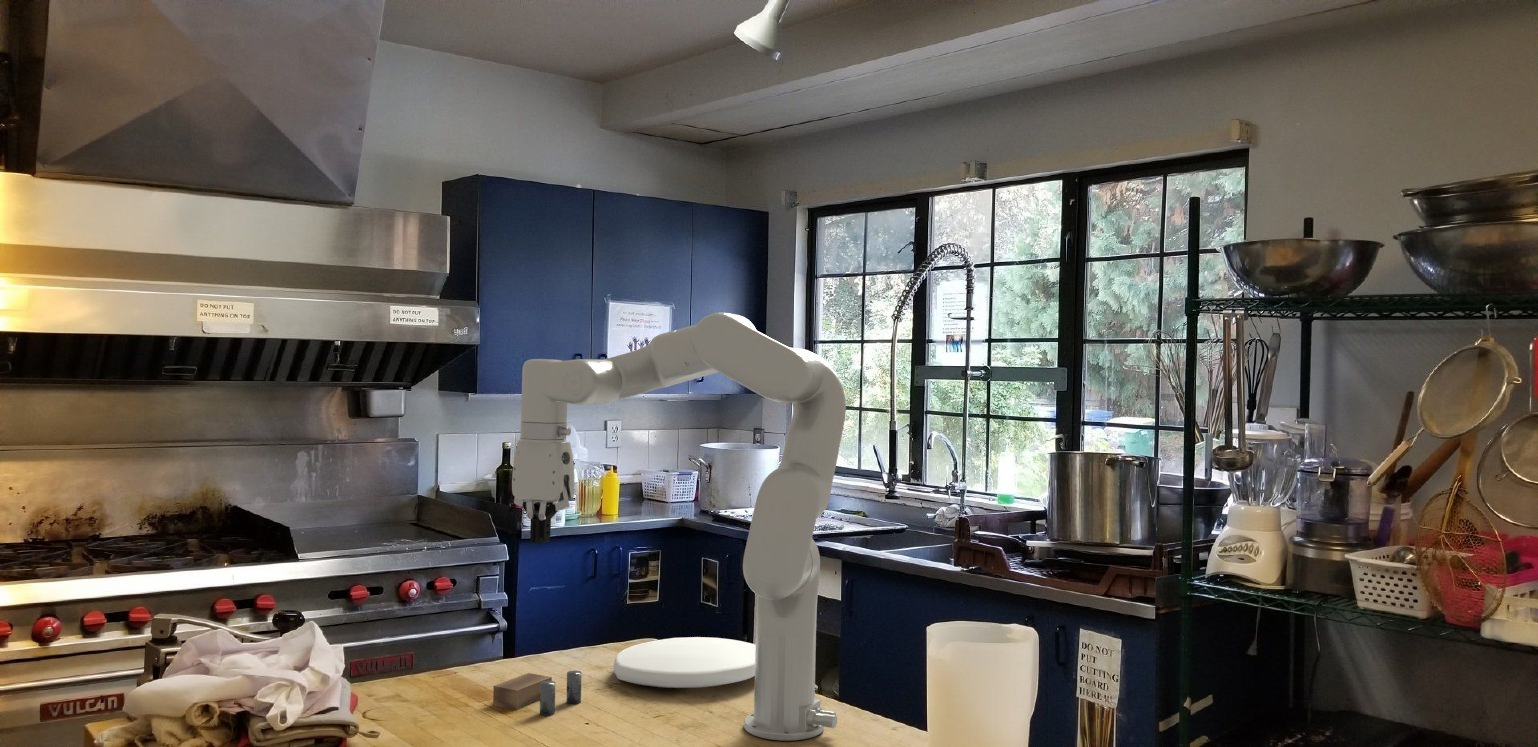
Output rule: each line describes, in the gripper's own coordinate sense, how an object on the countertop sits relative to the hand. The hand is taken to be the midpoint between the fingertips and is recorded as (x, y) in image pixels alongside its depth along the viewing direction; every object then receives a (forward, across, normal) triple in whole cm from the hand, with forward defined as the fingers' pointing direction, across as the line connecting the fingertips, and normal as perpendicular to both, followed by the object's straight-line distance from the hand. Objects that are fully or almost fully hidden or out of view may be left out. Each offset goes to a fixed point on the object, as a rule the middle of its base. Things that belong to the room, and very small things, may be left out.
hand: (540, 542), depth 183 cm
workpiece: (+27, +3, 0) cm, 27 cm away
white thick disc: (+27, -14, -27) cm, 41 cm away
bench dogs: (+27, -5, 0) cm, 27 cm away
